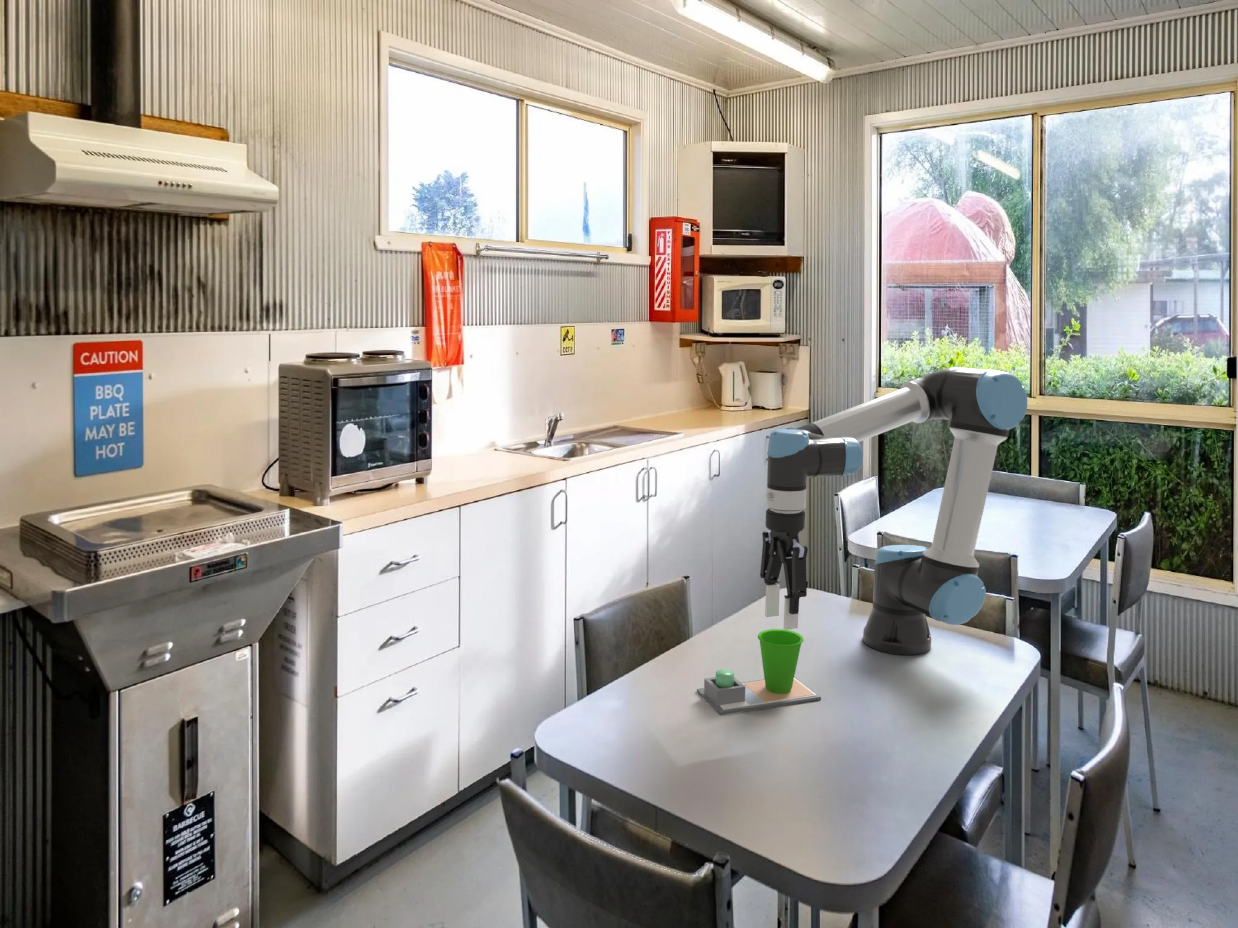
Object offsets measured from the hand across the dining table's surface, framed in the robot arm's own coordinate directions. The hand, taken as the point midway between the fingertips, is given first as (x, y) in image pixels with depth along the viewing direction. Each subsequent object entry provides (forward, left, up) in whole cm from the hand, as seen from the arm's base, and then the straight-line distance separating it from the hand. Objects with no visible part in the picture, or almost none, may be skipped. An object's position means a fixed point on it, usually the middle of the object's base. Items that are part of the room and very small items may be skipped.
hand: (781, 621), depth 177 cm
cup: (0, 0, -14) cm, 14 cm away
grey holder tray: (+5, 0, -15) cm, 16 cm away
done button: (+12, 0, -12) cm, 17 cm away
